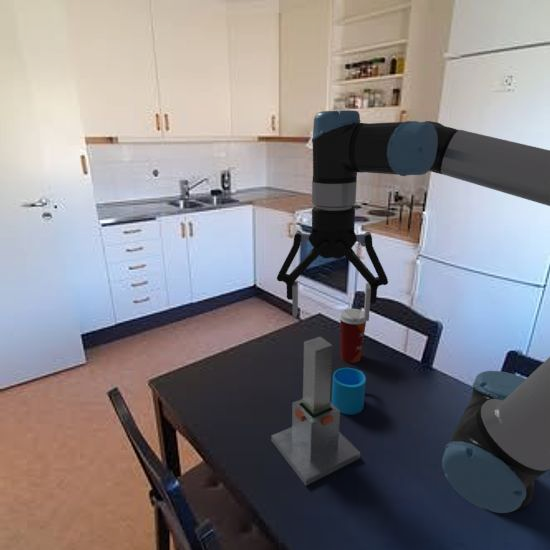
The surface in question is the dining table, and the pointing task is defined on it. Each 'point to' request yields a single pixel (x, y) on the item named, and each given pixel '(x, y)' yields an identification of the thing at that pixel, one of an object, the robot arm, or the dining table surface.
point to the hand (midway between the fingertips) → (330, 316)
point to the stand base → (314, 444)
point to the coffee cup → (352, 334)
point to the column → (317, 376)
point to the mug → (348, 390)
